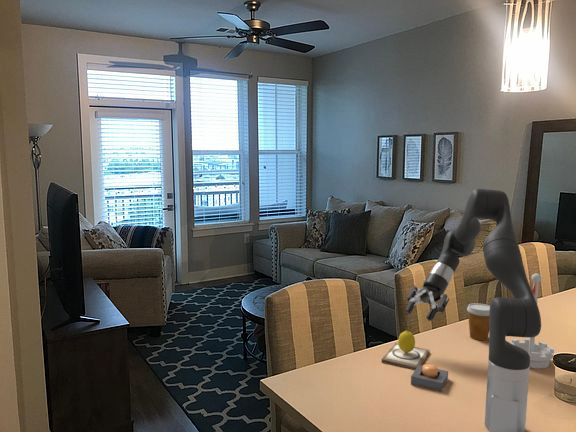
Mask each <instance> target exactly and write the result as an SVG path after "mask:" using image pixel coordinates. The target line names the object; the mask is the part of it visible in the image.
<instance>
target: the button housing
mask: <svg viewBox="0 0 576 432" xmlns="http://www.w3.org/2000/svg"><path fill="white" fill-rule="evenodd" d="M422 370H423V365H418V367H417V368H416V370H415V369H414V371H413V372H412V374H411V375H410V384H411V385H414V386H418V387H422V388H425V389H429V390H435V391H440V392H443V390H444V388H445V385H446V383H447V381H448V380H449V371H448V370H444V369H439V368H438V376H437V378H430V377H426V376H423V375H422Z"/></svg>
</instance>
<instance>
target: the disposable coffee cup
mask: <svg viewBox="0 0 576 432" xmlns="http://www.w3.org/2000/svg"><path fill="white" fill-rule="evenodd" d="M489 310H490V304H489V305H488V304H485V303H479V302H477V303H470V304H468V306H467V307H466V311H467V314H468V316H467V317H468V327H469V328H468V329H469V337H470V338H471V339H473V340H475V341H476V340H477V341H487V340H489Z"/></svg>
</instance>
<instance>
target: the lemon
mask: <svg viewBox="0 0 576 432" xmlns="http://www.w3.org/2000/svg"><path fill="white" fill-rule="evenodd" d="M397 341H398V345H399V347H400V349H401V350H402V351H404V352H405V353H408V352H410V351H412V350H413V349H414V347H416V339H415V335H414V334H413V333H412V332H411V331H409V330H405V331H402V332H401V333H400V334H399V336H398V340H397Z"/></svg>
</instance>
